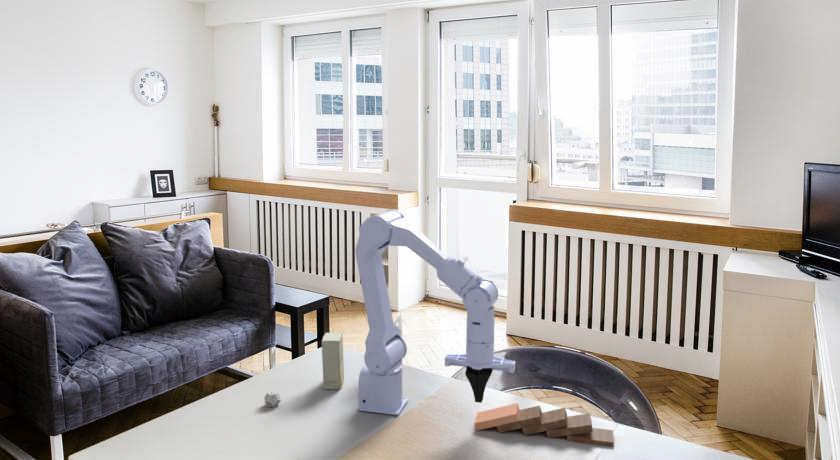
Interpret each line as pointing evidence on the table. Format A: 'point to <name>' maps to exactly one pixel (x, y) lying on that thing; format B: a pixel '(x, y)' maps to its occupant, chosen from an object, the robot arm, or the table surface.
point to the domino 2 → (549, 422)
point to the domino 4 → (594, 437)
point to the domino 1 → (524, 419)
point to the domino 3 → (573, 426)
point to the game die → (272, 398)
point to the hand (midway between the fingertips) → (479, 400)
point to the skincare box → (332, 360)
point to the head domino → (497, 416)
